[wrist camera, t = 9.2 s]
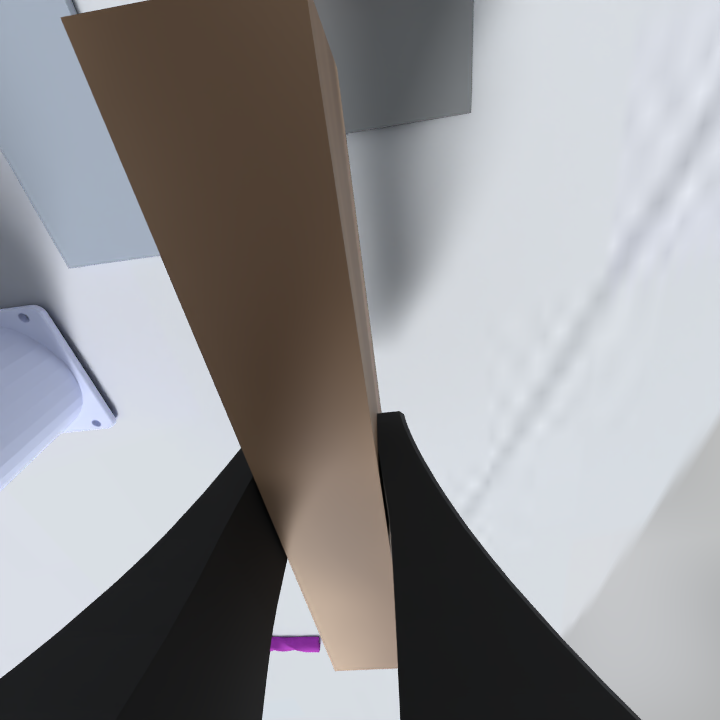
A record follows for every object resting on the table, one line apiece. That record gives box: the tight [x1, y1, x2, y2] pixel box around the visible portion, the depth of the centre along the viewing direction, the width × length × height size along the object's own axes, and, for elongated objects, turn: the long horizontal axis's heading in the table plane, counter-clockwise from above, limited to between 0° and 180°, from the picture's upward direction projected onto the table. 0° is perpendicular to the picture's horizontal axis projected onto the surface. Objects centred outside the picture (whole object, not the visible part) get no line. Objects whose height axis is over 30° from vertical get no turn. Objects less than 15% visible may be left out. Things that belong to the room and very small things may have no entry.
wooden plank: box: [60, 0, 398, 671], centre depth 10 cm, size 2×16×5 cm, turn 8°
